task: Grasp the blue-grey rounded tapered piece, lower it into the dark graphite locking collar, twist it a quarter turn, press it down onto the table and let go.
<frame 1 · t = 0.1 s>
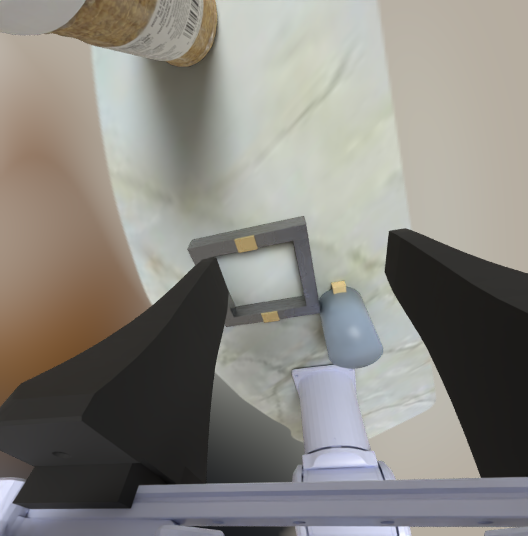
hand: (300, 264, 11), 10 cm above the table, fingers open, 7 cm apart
sprinkles bottle: (178, 16, 14), on the table
collar: (260, 273, 24), on the table
blue-grey rounded tapered piece: (339, 303, 25), on the table
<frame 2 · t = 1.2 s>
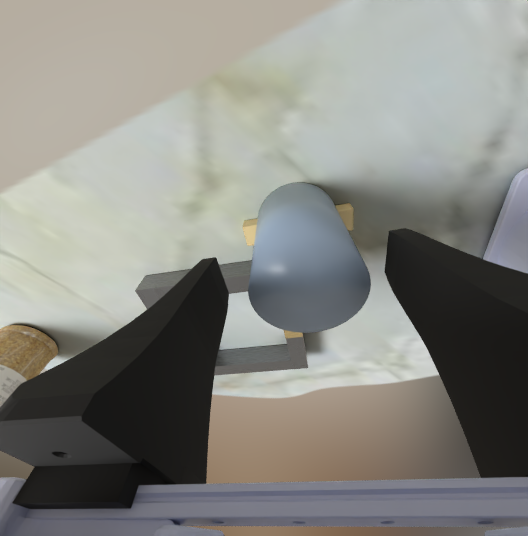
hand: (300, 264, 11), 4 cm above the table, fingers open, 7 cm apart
sprinkles bottle: (34, 338, 21), on the table
collar: (234, 317, 19), on the table
blue-grey rounded tapered piece: (296, 222, 14), on the table
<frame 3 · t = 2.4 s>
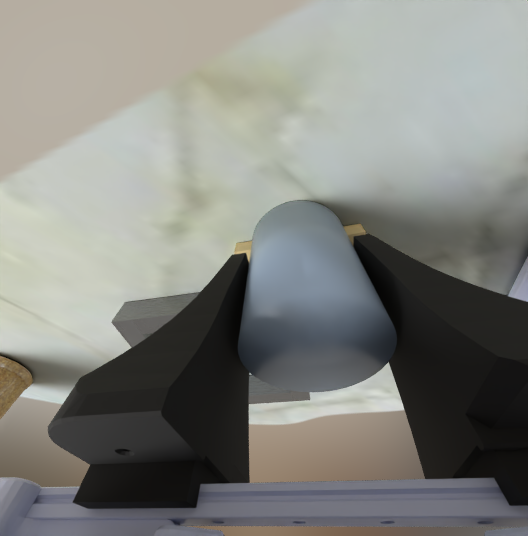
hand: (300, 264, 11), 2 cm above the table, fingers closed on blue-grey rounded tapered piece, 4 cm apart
sprinkles bottle: (6, 366, 19), on the table
collar: (228, 346, 17), on the table
blue-grey rounded tapered piece: (297, 244, 12), on the table, touching gripper
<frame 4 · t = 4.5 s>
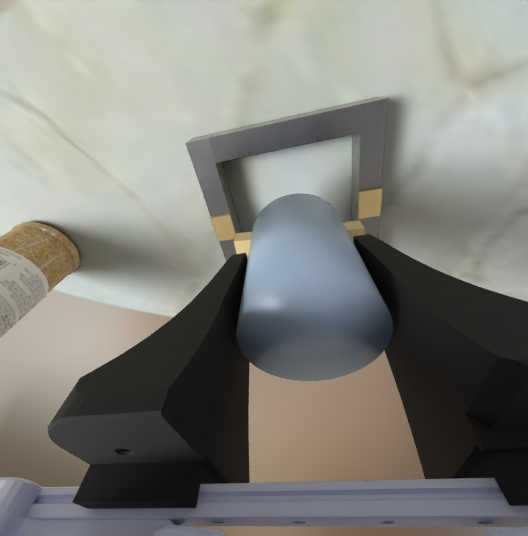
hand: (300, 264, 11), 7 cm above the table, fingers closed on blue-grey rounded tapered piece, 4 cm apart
sprinkles bottle: (52, 246, 19), on the table
collar: (292, 205, 16), on the table
blue-grey rounded tapered piece: (296, 238, 12), point 5 cm above the table, touching gripper
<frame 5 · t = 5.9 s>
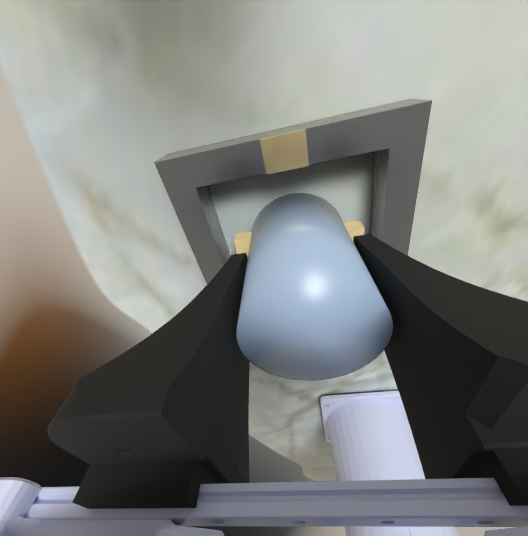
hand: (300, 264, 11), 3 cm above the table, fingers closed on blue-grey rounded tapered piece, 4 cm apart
collar: (296, 235, 13), on the table
blue-grey rounded tapered piece: (296, 237, 12), point 1 cm above the table, touching gripper
when the fingers open (2 cm above the table, at t = 6.7 s): blue-grey rounded tapered piece stays where it is, resting in collar.
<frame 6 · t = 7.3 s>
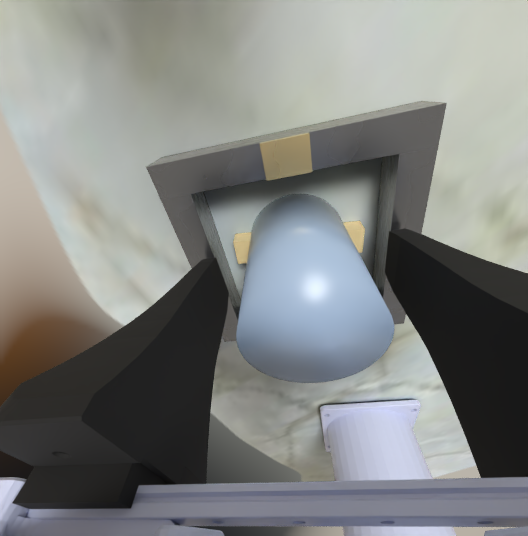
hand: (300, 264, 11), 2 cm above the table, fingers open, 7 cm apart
collar: (297, 243, 12), on the table
blue-grey rounded tapered piece: (296, 238, 12), resting in collar
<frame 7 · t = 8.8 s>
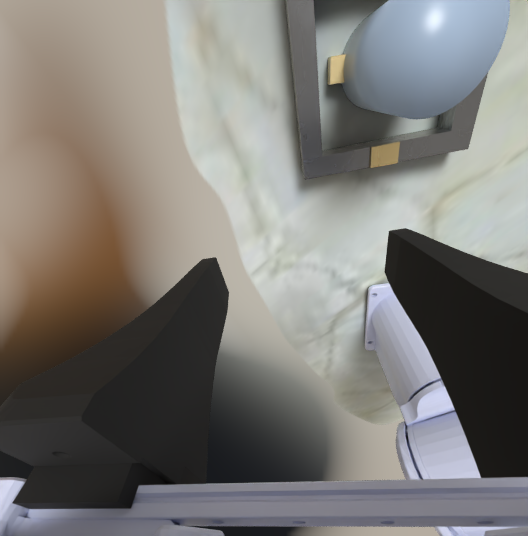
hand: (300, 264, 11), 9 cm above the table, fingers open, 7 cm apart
collar: (380, 68, 14), on the table
blue-grey rounded tapered piece: (380, 63, 14), resting in collar
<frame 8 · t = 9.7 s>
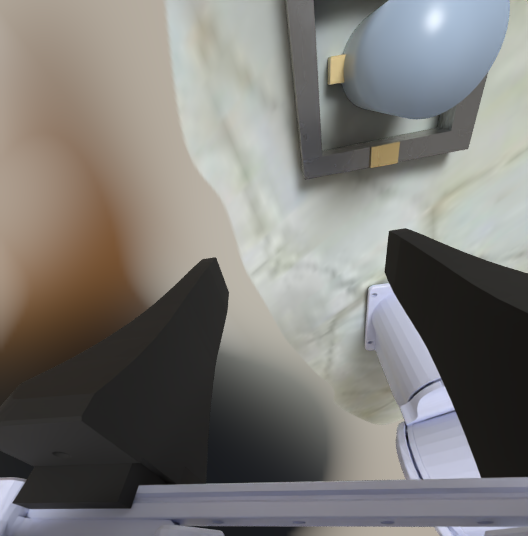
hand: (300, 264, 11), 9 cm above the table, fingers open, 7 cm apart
collar: (380, 68, 14), on the table
blue-grey rounded tapered piece: (380, 63, 14), resting in collar
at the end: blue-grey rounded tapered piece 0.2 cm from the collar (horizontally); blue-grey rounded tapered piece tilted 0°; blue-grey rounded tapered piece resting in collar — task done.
